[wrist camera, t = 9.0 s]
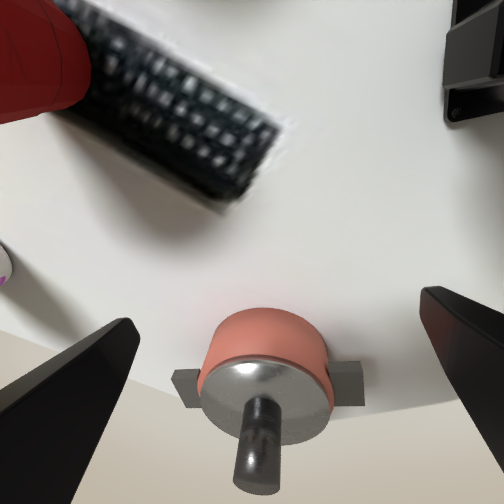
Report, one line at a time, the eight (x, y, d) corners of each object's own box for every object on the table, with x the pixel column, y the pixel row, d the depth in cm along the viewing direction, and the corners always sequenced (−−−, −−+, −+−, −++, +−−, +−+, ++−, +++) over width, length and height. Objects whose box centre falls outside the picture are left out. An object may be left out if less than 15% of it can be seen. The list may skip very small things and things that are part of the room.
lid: (321, 350, 19) (333, 439, 14) (333, 434, 24) (346, 525, 18) (186, 357, 21) (152, 436, 16) (222, 433, 26) (205, 513, 21)
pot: (348, 298, 23) (362, 342, 18) (355, 387, 28) (368, 438, 23) (175, 315, 26) (151, 355, 22) (209, 391, 31) (196, 436, 27)
